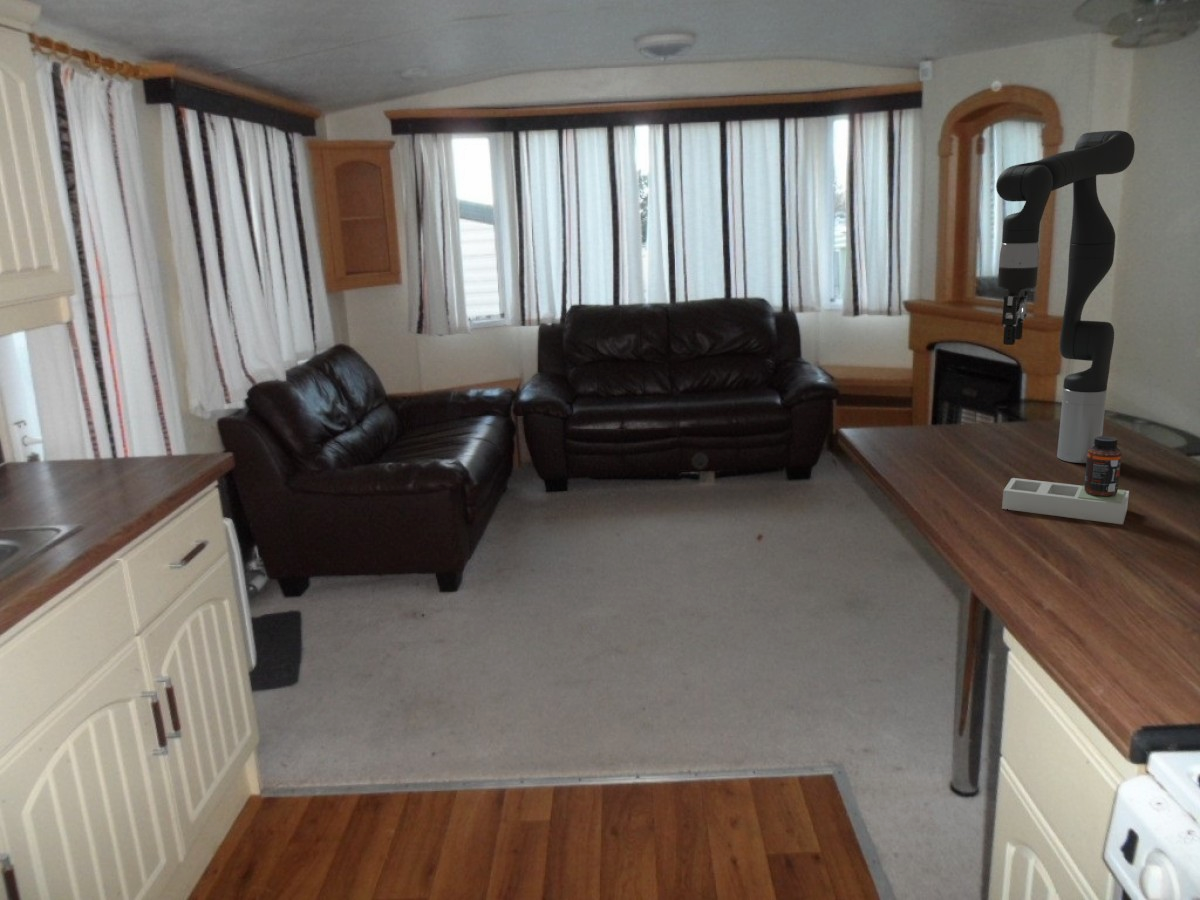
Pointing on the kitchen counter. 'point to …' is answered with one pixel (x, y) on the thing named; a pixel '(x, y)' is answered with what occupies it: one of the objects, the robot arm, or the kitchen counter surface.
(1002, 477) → the kitchen counter surface
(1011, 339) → the robot arm
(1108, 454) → the supplement bottle
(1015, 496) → the board
